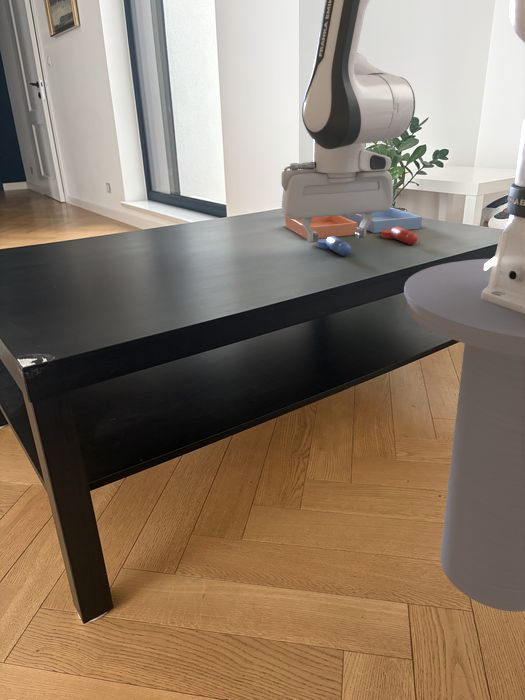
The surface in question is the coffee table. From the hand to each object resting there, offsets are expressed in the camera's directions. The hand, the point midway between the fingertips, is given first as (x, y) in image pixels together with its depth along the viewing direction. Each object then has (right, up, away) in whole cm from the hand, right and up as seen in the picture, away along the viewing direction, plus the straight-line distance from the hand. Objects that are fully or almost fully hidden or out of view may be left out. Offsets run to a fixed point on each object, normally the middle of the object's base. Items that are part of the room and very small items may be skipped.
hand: (336, 239), depth 101 cm
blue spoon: (0, -2, +2) cm, 3 cm away
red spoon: (+14, +2, +8) cm, 16 cm away
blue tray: (+13, +8, +24) cm, 28 cm away
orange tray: (-1, +6, +20) cm, 21 cm away
